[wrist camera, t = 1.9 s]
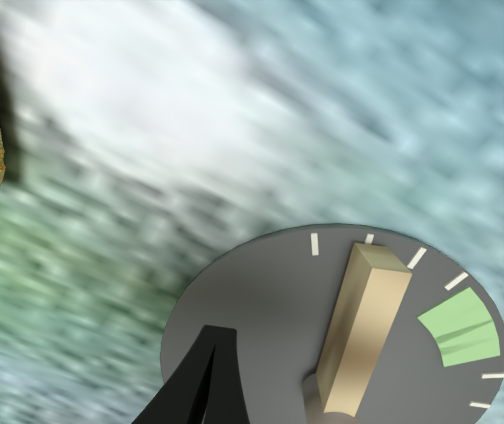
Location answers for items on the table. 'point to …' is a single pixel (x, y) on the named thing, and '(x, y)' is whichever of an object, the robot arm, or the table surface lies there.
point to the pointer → (355, 334)
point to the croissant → (1, 160)
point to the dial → (319, 319)
